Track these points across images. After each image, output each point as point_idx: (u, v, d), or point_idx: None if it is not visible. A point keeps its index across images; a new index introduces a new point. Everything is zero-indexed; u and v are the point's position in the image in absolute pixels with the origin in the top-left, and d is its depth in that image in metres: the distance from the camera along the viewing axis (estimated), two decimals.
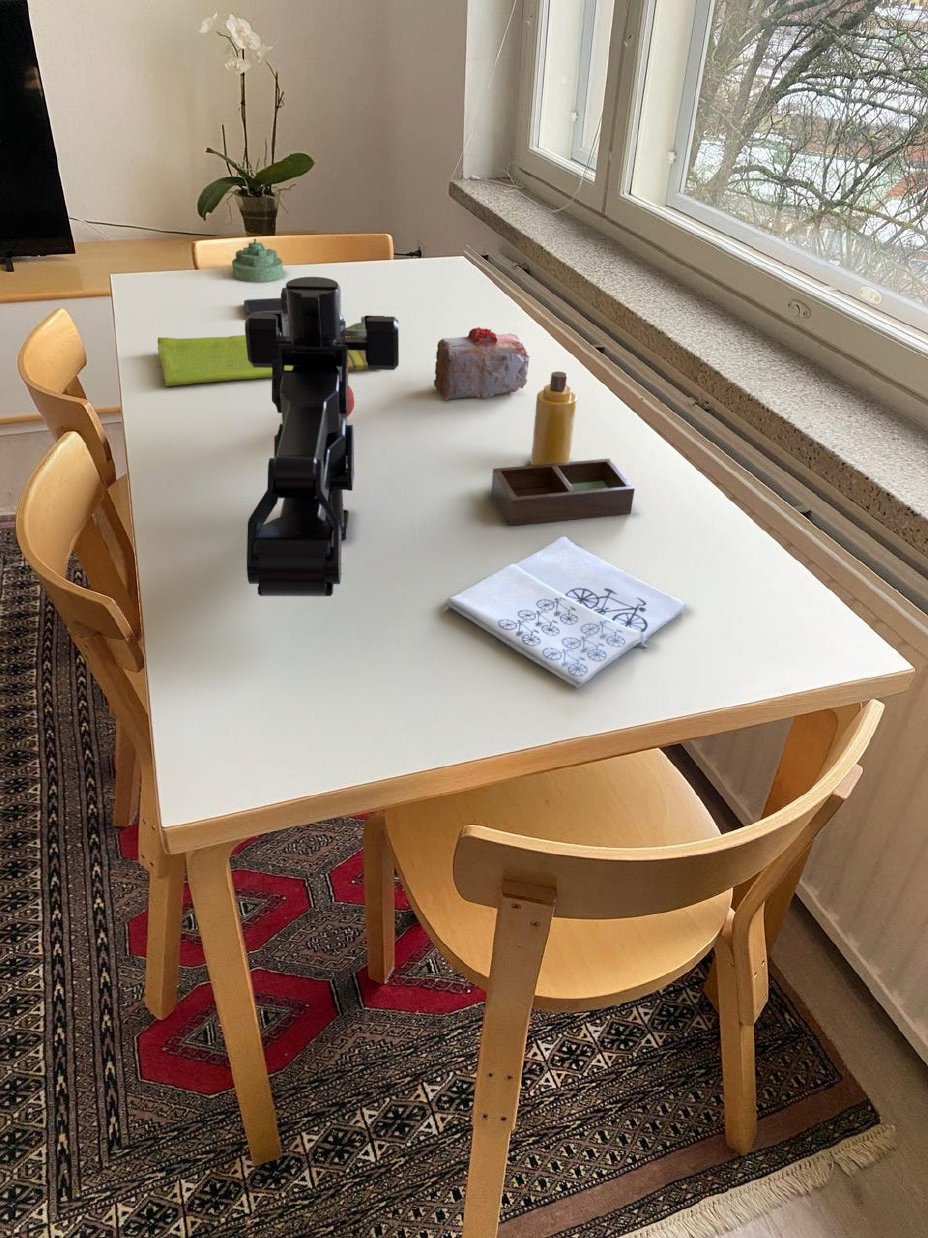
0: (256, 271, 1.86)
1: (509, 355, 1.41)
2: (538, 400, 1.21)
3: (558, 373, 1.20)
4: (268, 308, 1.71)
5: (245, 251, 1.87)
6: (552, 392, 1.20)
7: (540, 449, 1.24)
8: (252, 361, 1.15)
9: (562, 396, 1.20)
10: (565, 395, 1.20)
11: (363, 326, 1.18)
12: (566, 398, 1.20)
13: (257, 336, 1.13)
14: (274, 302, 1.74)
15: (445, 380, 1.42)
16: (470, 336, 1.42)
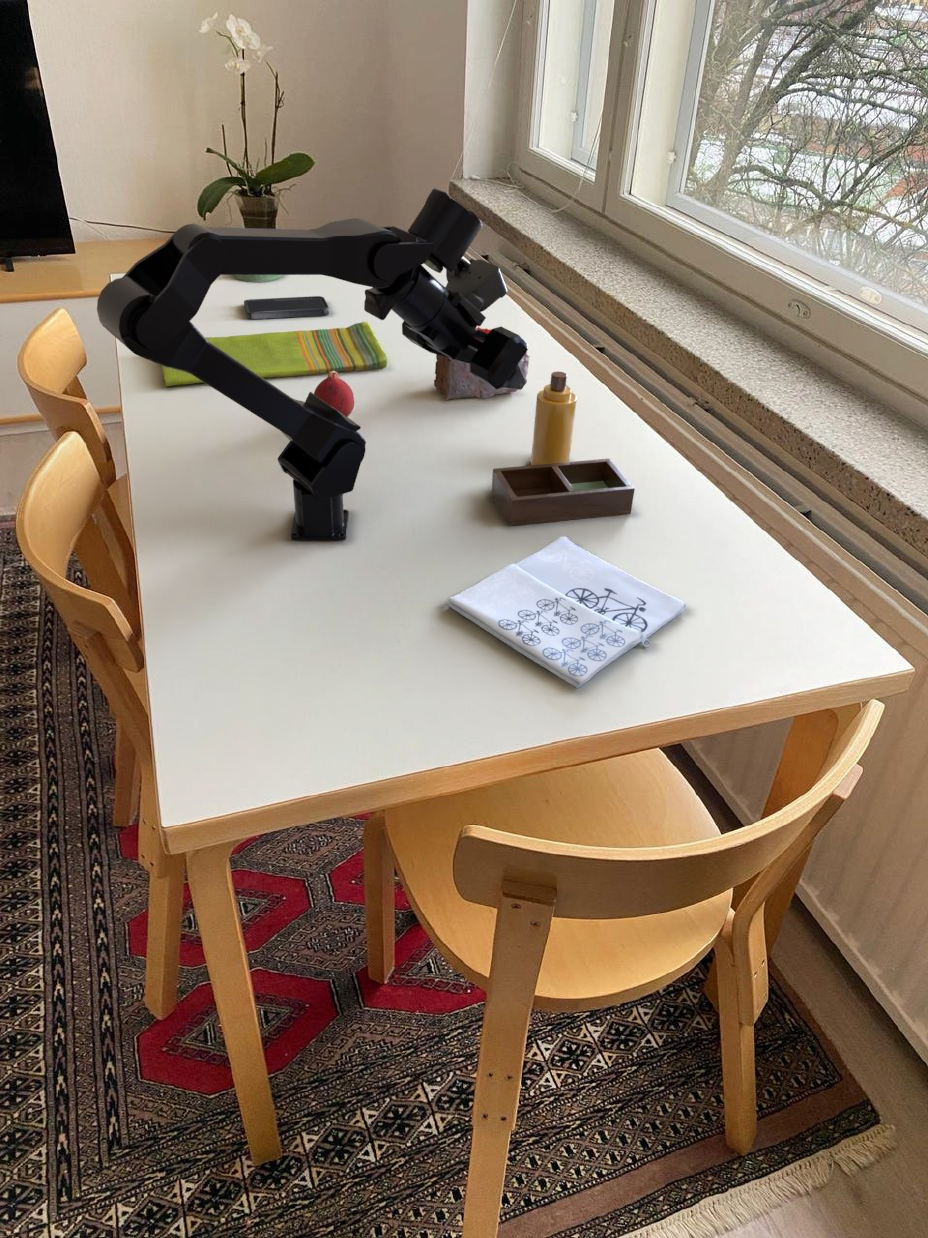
0: None
1: None
2: (538, 400, 1.21)
3: (558, 373, 1.20)
4: (268, 308, 1.71)
5: None
6: (552, 392, 1.20)
7: (540, 449, 1.24)
8: (403, 322, 1.15)
9: (562, 396, 1.20)
10: (565, 395, 1.20)
11: None
12: (566, 398, 1.20)
13: None
14: (274, 302, 1.74)
15: (445, 380, 1.42)
16: None
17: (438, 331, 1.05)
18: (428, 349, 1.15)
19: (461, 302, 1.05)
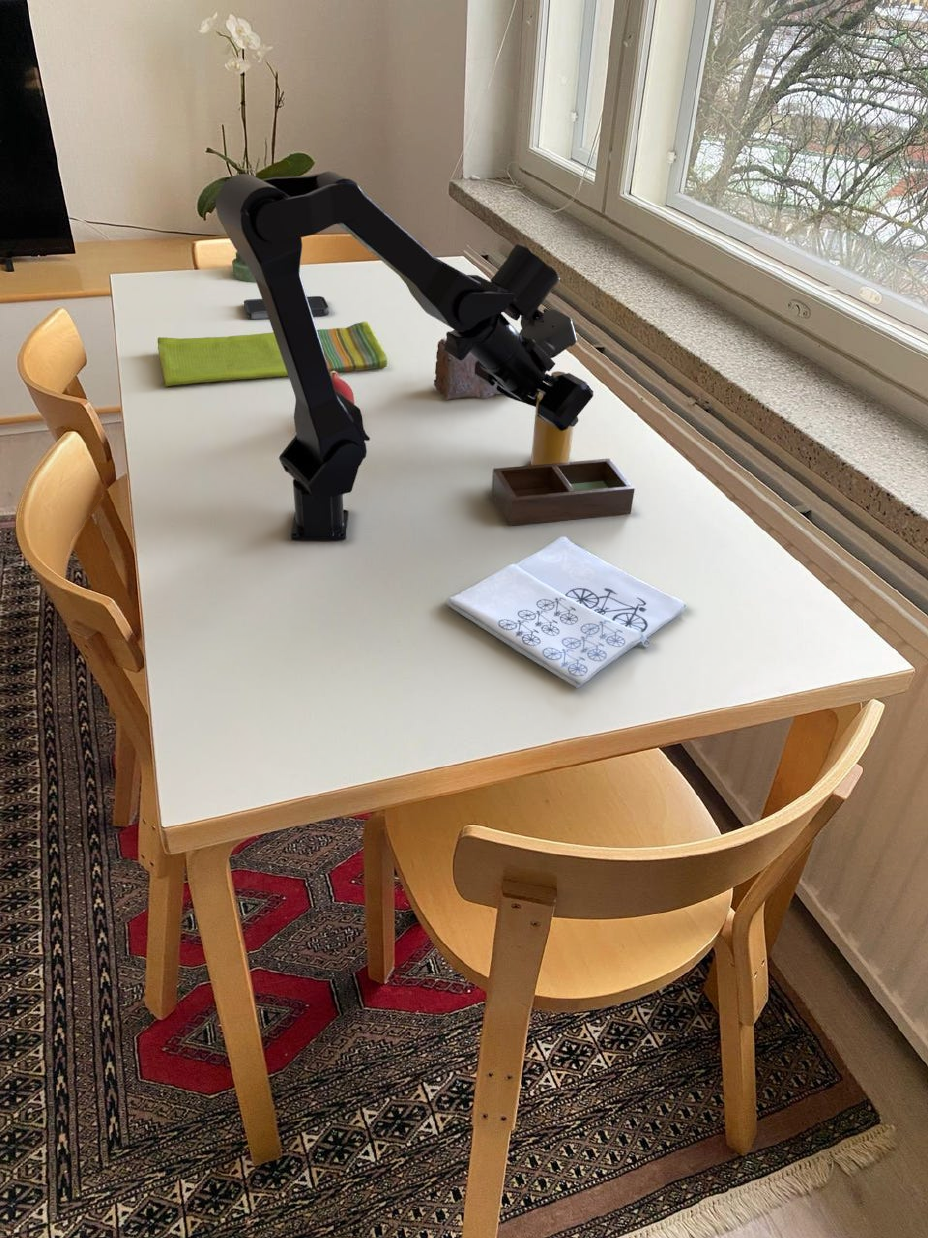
0: None
1: None
2: (538, 400, 1.21)
3: (558, 373, 1.20)
4: None
5: None
6: None
7: (540, 449, 1.24)
8: (476, 362, 1.22)
9: None
10: None
11: None
12: None
13: None
14: None
15: (445, 379, 1.42)
16: None
17: (510, 373, 1.12)
18: (505, 394, 1.22)
19: (534, 348, 1.12)
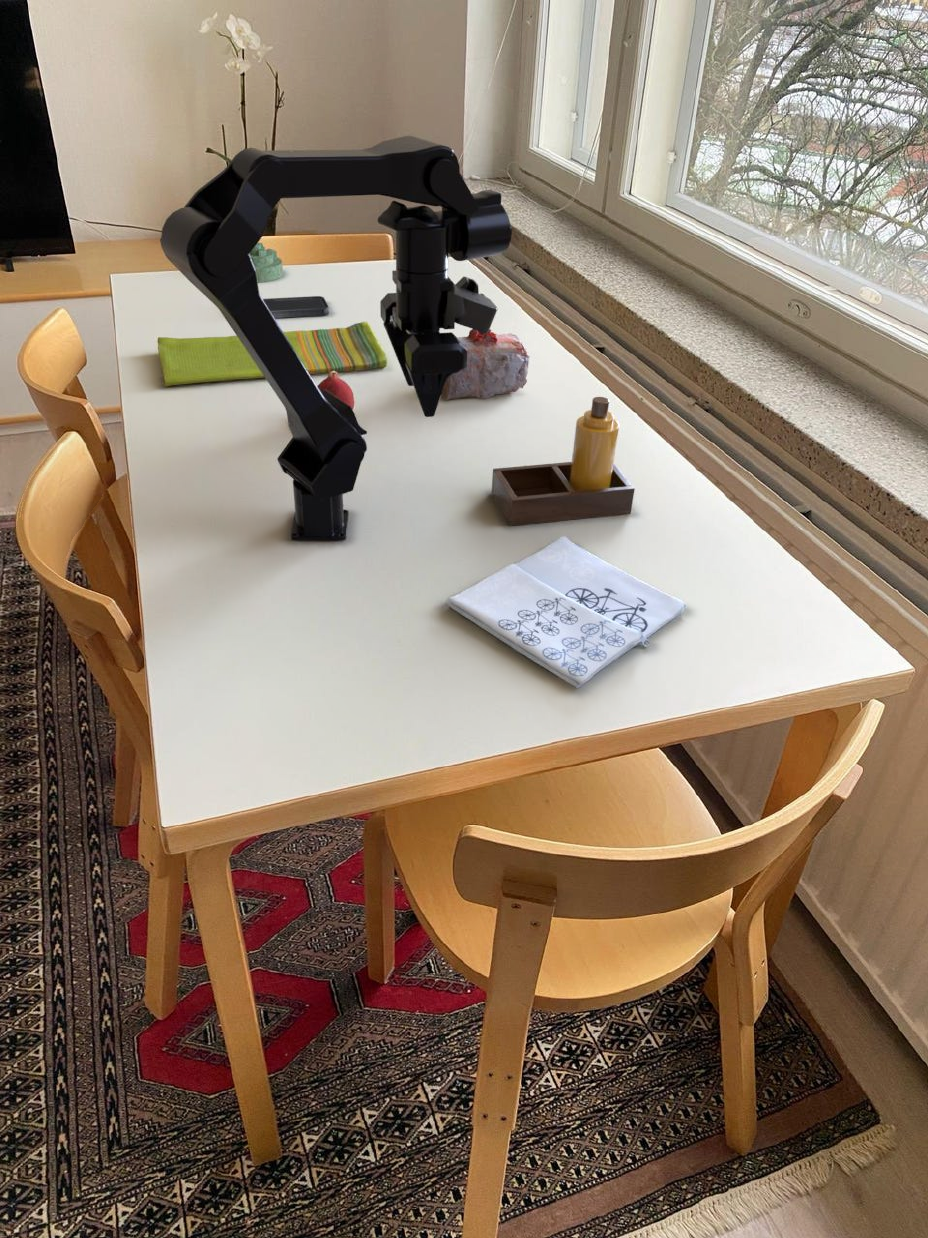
0: (256, 271, 1.86)
1: (509, 355, 1.41)
2: (576, 425, 1.13)
3: (600, 399, 1.12)
4: None
5: None
6: (590, 418, 1.12)
7: (575, 477, 1.16)
8: (389, 293, 1.12)
9: (600, 423, 1.12)
10: (603, 423, 1.12)
11: None
12: (605, 427, 1.12)
13: None
14: (274, 302, 1.74)
15: None
16: (470, 336, 1.42)
17: (412, 290, 1.01)
18: (387, 328, 1.11)
19: (448, 293, 1.02)
